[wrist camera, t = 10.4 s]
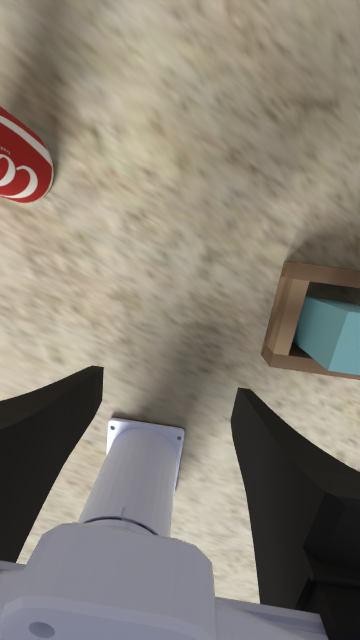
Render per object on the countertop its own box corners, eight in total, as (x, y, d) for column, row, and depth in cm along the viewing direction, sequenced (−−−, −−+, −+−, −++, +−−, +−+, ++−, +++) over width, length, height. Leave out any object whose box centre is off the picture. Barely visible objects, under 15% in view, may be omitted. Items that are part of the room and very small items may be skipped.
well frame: (351, 367, 21) (372, 381, 18) (260, 354, 21) (269, 366, 19) (386, 275, 19) (415, 278, 16) (284, 261, 19) (297, 262, 16)
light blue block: (333, 345, 20) (389, 379, 15) (289, 338, 20) (327, 370, 15) (348, 302, 19) (414, 320, 14) (302, 295, 19) (348, 311, 14)
